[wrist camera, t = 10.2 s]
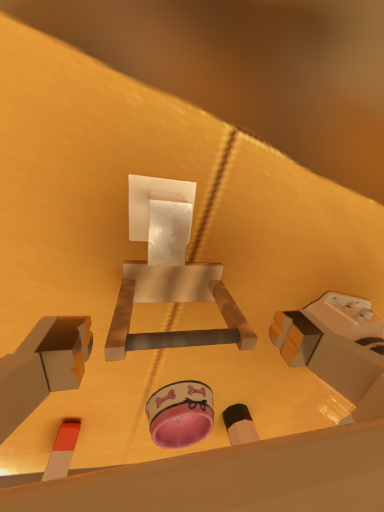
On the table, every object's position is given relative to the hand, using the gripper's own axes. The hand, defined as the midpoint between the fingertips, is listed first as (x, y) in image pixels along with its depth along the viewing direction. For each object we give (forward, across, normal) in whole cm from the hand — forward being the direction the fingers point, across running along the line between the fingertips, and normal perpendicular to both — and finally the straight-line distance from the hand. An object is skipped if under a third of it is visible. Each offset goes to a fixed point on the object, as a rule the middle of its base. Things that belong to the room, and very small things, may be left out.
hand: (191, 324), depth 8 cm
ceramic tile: (+25, 0, 0) cm, 25 cm away
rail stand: (+25, -3, +13) cm, 28 cm away
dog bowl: (+25, -8, +52) cm, 58 cm away
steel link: (+24, 0, 0) cm, 24 cm away
